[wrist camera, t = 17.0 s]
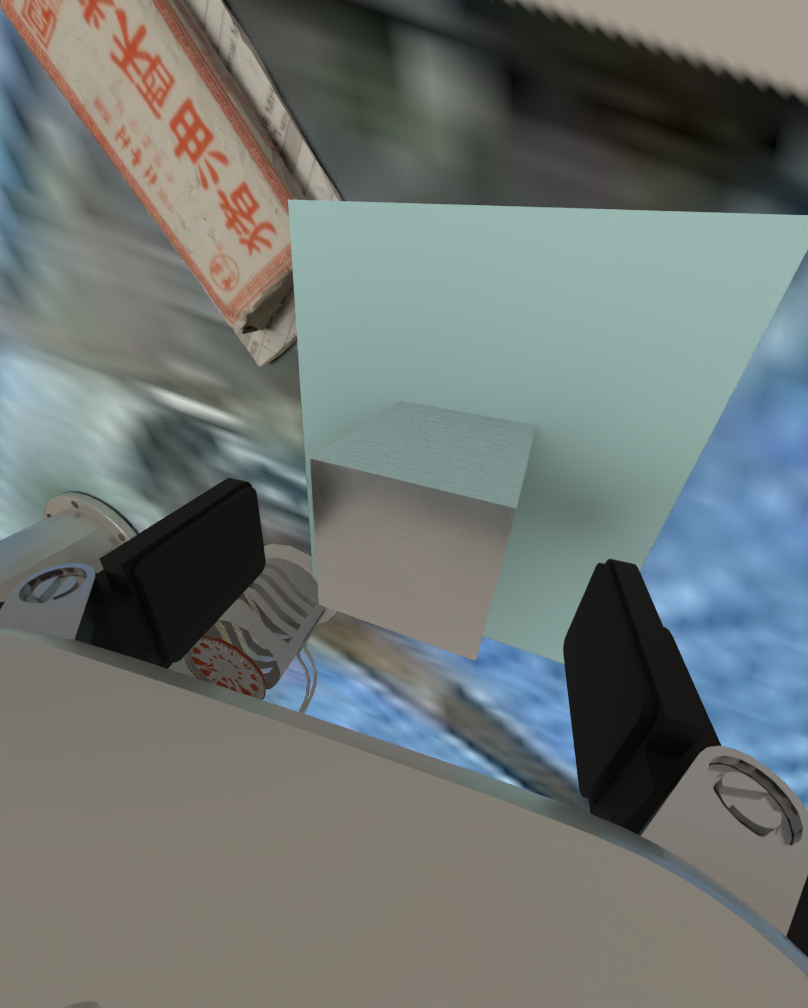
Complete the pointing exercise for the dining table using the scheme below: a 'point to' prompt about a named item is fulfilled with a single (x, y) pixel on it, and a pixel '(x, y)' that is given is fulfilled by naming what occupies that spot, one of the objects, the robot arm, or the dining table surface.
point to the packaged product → (190, 141)
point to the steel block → (418, 520)
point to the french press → (264, 627)
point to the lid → (541, 358)
